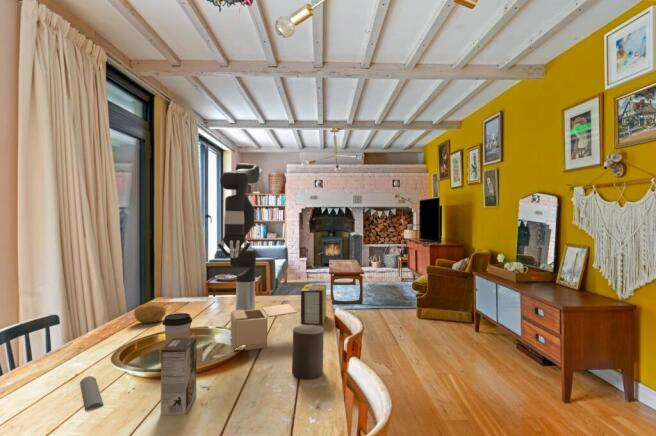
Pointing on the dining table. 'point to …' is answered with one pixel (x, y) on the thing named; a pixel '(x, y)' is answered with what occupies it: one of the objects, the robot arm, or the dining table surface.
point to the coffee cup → (177, 326)
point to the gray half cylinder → (90, 393)
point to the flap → (279, 310)
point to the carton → (249, 329)
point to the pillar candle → (307, 351)
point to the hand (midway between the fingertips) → (233, 267)
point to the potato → (150, 312)
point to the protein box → (313, 304)
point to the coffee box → (178, 376)
